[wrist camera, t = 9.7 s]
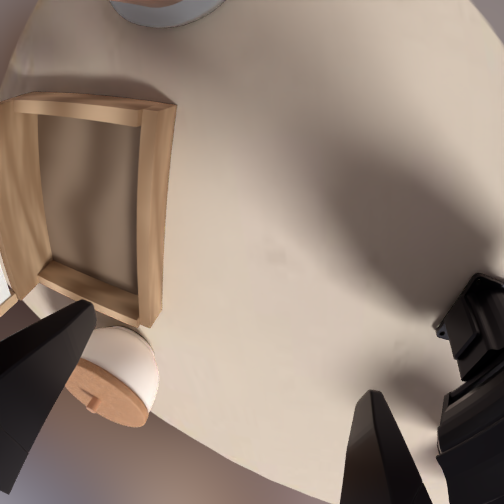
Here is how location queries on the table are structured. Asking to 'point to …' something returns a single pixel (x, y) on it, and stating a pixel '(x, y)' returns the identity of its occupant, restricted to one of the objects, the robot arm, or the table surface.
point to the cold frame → (86, 199)
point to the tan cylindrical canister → (150, 2)
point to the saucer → (166, 13)
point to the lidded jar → (116, 376)
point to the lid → (5, 295)
